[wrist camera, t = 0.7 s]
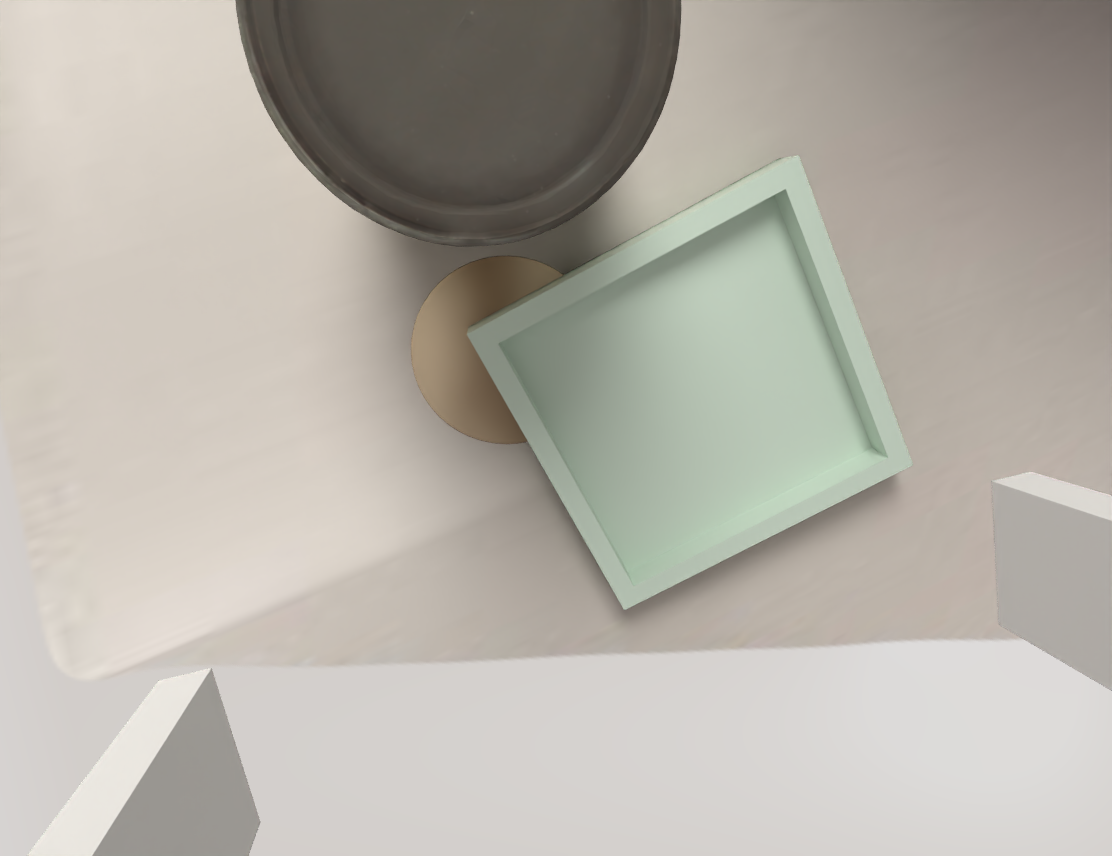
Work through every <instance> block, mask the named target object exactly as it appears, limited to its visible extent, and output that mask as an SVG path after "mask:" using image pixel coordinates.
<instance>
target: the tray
mask: <svg viewBox="0 0 1112 856" xmlns="http://www.w3.org/2000/svg"><path fill="white" fill-rule="evenodd" d="M467 336H468V338H469V339H470V341H471V343H472V345H473V346H474V348H475V350H476V352H477V353H478V355H479V357H480V359H481V360H482V362H483V364H484V366H485V367H486V369H487V371H488V373H489V374H490V376H491V378H492V380H493V381H494V383H495V385H496V387H497V388H498V390H499V392H500V394H501V395H502V397H503V399H504V401H505V402H506V404H507V406H508V408H509V409H510V411H511V413H512V415H513V416H514V418H515V420H516V422H517V423H518V425H519V427H520V429H521V430H522V432H523V434H524V436H525V437H526V439H527V441H528V443H529V444H530V446H531V448H532V450H533V451H534V453H535V455H536V457H537V458H538V460H539V462H540V464H541V465H542V467H543V469H544V471H545V472H546V474H547V476H548V478H549V479H550V481H551V483H552V485H553V486H554V488H555V490H556V492H557V493H558V495H559V497H560V499H561V500H562V502H563V504H564V506H565V507H566V509H567V511H568V513H569V514H570V516H571V518H572V520H573V521H574V523H575V525H576V527H577V528H578V530H579V532H580V534H581V535H582V537H583V539H584V541H585V542H586V544H587V546H588V548H589V549H590V551H591V553H592V555H593V556H594V558H595V560H596V562H597V563H598V565H599V567H600V569H601V570H602V572H603V574H604V576H605V577H606V579H607V581H608V583H609V584H610V586H611V588H612V590H613V591H614V593H615V595H616V597H617V598H618V600H619V602H620V604H621V605H622V607H623V609H624V610H626V609H628V608H630V607H632V606H634V605H636V604H638V603H640V602H642V601H644V600H646V599H648V598H650V597H652V596H654V595H656V594H658V593H660V592H662V591H664V590H666V589H668V588H670V587H672V586H674V585H676V584H678V583H680V582H682V581H684V580H686V579H688V578H690V577H692V576H694V575H696V574H698V573H700V572H702V571H704V570H706V569H708V568H710V567H712V566H714V565H716V564H718V563H719V562H721V561H723V560H725V559H727V558H729V557H731V556H733V555H735V554H737V553H739V552H741V551H743V550H745V549H747V548H749V547H751V546H753V545H755V544H757V543H759V542H761V541H763V540H765V539H767V538H769V537H771V536H773V535H775V534H777V533H779V532H781V531H783V530H785V529H787V528H789V527H791V526H793V525H795V524H797V523H799V522H801V521H803V520H805V519H807V518H809V517H811V516H813V515H815V514H817V513H819V512H821V511H823V510H825V509H827V508H829V507H831V506H833V505H835V504H837V503H839V502H841V501H843V500H845V499H847V498H849V497H851V496H853V495H855V494H857V493H859V492H861V491H863V490H865V489H867V488H869V487H871V486H873V485H875V484H877V483H879V482H881V481H883V480H885V479H887V478H889V477H891V476H893V475H895V474H897V473H899V472H901V471H903V470H904V469H906V468H908V467H910V466H912V465H913V463H912V460H911V457H910V455H909V452H908V449H907V447H906V444H905V441H904V439H903V436H902V433H901V430H900V428H899V425H898V422H897V420H896V417H895V414H894V412H893V409H892V406H891V403H890V401H889V398H888V395H887V393H886V390H885V387H884V384H883V382H882V379H881V376H880V374H879V371H878V368H877V366H876V363H875V360H874V357H873V355H872V352H871V349H870V347H869V344H868V341H867V339H866V336H865V333H864V330H863V328H862V325H861V322H860V320H859V317H858V314H857V311H856V309H855V306H854V303H853V301H852V298H851V295H850V293H849V290H848V287H847V284H846V282H845V279H844V276H843V274H842V271H841V268H840V266H839V263H838V260H837V257H836V255H835V252H834V249H833V247H832V244H831V241H830V238H829V236H828V233H827V230H826V228H825V225H824V222H823V220H822V217H821V214H820V211H819V209H818V206H817V203H816V201H815V198H814V195H813V193H812V190H811V187H810V184H809V182H808V179H807V176H806V174H805V171H804V168H803V165H802V163H801V160H800V157H799V155H796V156H791V157H785V158H780V159H777V160H776V161H774V162H772V163H770V164H768V165H766V166H764V167H763V168H761V169H759V170H757V171H755V172H753V173H752V174H750V175H748V176H746V177H744V178H742V179H740V180H739V181H737V182H735V183H733V184H731V185H729V186H728V187H726V188H724V189H722V190H720V191H718V192H716V193H715V194H713V195H711V196H709V197H707V198H705V199H704V200H702V201H700V202H698V203H696V204H694V205H692V206H691V207H689V208H687V209H685V210H683V211H681V212H680V213H678V214H676V215H674V216H672V217H670V218H668V219H667V220H665V221H663V222H661V223H659V224H657V225H656V226H654V227H652V228H650V229H648V230H646V231H644V232H643V233H641V234H639V235H637V236H635V237H633V238H632V239H630V240H628V241H626V242H624V243H622V244H620V245H619V246H617V247H615V248H613V249H611V250H609V251H608V252H606V253H604V254H602V255H600V256H598V257H596V258H595V259H593V260H591V261H589V262H587V263H585V264H583V265H582V266H580V267H578V268H576V269H574V270H572V271H571V272H569V273H567V274H565V275H563V276H561V277H559V278H558V279H556V280H554V281H552V282H550V283H548V284H547V285H545V286H543V287H541V288H539V289H537V290H535V291H534V292H532V293H530V294H528V295H526V296H524V297H523V298H521V299H519V300H517V301H515V302H513V303H511V304H510V305H508V306H506V307H504V308H502V309H500V310H499V311H497V312H495V313H493V314H491V315H489V316H487V317H486V318H484V319H482V320H480V321H478V322H476V323H475V324H473V325H471V326H469V327H468V331H467Z"/></svg>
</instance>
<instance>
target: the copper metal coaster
mask: <svg viewBox="0 0 1112 856" xmlns="http://www.w3.org/2000/svg"><path fill="white" fill-rule="evenodd" d="M561 276H563V275H562V274H561V273H560V272H558V271H557V270H555V269H553V268H551V267H549V266H548V265H545V264H543V263H540V262H538V261H535V260H531V259H527V258H523V257H514V256H496V257H490V258H484V259H481V260H477V261H474V262H471V263H469V264H467V265H465V266H462V267H460V268H459V269H457V270H455V271H454V272H452V273H451V274H449V275H448V276H447V277H446V278H444V279H443V280H442V281H441V282H440V283H439V284H438V285H437V286H436V287H435V288H434V289H433V290H432V292H431V293H430V294H429V296H428V297H427V299H426V300H425V302H424V303H423V305H422V307H421V309H420V311H419V313H418V316H417V319H416V322H415V325H414V328H413V334H412V340H411V358H412V366H413V370H414V375H415V378H416V381H417V383H418V386H419V388H420V390H421V392H422V394H423V396H424V398H425V399H426V401H427V402H428V404H429V405H430V406H431V408H432V409H433V410H434V411H435V412H436V413H437V414H438V416H439V417H440V418H442V419H443V420H444V421H445V422H446V423H447V424H449V425H450V426H452V427H453V428H455V429H456V430H458V431H459V432H461V433H463V434H466V435H468V436H470V437H472V438H475V439H478V440H481V441H486V442H491V443H501V444H512V443H522V442H527V439H526V437H525V436H524V434H523V432H522V430H521V429H520V427H519V425H518V423H517V422H516V420H515V418H514V416H513V415H512V413H511V411H510V409H509V408H508V406H507V404H506V402H505V401H504V399H503V397H502V395H501V394H500V392H499V390H498V388H497V387H496V385H495V383H494V381H493V380H492V378H491V376H490V374H489V373H488V371H487V369H486V367H485V366H484V364H483V362H482V360H481V359H480V357H479V355H478V353H477V352H476V350H475V348H474V346H473V345H472V343H471V341H470V339H469V338H468V336H467V331H468V327H469V326H471V325H473V324H475V323H476V322H478V321H480V320H482V319H484V318H486V317H487V316H489V315H491V314H493V313H495V312H497V311H499V310H500V309H502V308H504V307H506V306H508V305H510V304H511V303H513V302H515V301H517V300H519V299H521V298H523V297H524V296H526V295H528V294H530V293H532V292H534V291H535V290H537V289H539V288H541V287H543V286H545V285H547V284H548V283H550V282H552V281H554V280H556V279H558V278H559V277H561Z"/></svg>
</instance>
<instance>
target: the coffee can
mask: <svg viewBox="0 0 1112 856" xmlns="http://www.w3.org/2000/svg"><path fill="white" fill-rule="evenodd" d="M236 10H237V17H238V24H239V29H240V35H241V40H242V44H243V48H244V51H245V55H246V58H247V62H248V66H249V69H250V72H251V74H252V77H253V79H254V82H255V85H256V87H257V90H258V92H259V95H260V97H261V99H262V102H263V104H264V106H265V108H266V110H267V112H268V114H269V115H270V117H271V119H272V121H273V123H274V124H275V126H276V128H277V129H278V131H279V132H280V134H281V135H282V137H283V138H284V140H285V141H286V142H287V144H288V145H289V147H290V148H291V149H292V151H293V152H294V154H295V155H296V156H297V158H298V159H299V160H300V161H301V162H302V163H303V165H304V166H305V167H306V168H307V169H308V170H309V171H310V172H311V173H312V174H313V175H314V176H315V177H316V178H317V179H318V180H319V181H320V182H321V183H322V184H323V185H324V186H325V187H326V188H327V189H328V190H329V191H331V192H332V193H333V194H334V195H335V196H336V197H338V198H339V199H340V200H342V201H343V202H344V203H346V204H347V205H348V206H349V207H351V208H352V209H354V210H356V211H357V212H359V213H361V214H362V215H364V216H366V217H368V218H369V219H371V220H373V221H375V222H376V223H378V224H380V225H382V226H384V227H387V228H389V229H392V230H394V231H397V232H399V233H402V234H404V235H407V236H410V237H413V238H416V239H420V240H423V241H428V242H432V243H437V244H443V245H451V246H488V245H498V244H505V243H510V242H516V241H520V240H523V239H527V238H530V237H533V236H535V235H538V234H540V233H543V232H545V231H548V230H551V229H553V228H555V227H557V226H559V225H561V224H563V223H565V222H566V221H568V220H570V219H571V218H573V217H575V216H576V215H578V214H579V213H581V212H582V211H584V210H585V209H586V208H588V207H589V206H590V205H592V204H593V203H594V202H596V201H597V200H598V199H599V198H600V197H601V196H602V195H603V194H604V193H606V192H607V191H608V190H609V189H610V188H611V187H612V186H613V185H614V184H615V183H616V182H617V181H618V180H619V179H620V178H621V176H622V175H623V174H624V173H625V172H626V170H627V169H628V168H629V166H630V165H631V164H632V163H633V161H634V160H635V158H636V157H637V156H638V154H639V153H640V152H641V150H642V149H643V147H644V145H645V144H646V142H647V140H648V138H649V137H650V135H651V133H652V131H653V129H654V127H655V125H656V123H657V121H658V119H659V117H660V115H661V112H662V110H663V107H664V104H665V101H666V99H667V96H668V93H669V90H670V86H671V82H672V78H673V74H674V69H675V64H676V60H677V53H678V46H679V39H680V24H681V0H236Z"/></svg>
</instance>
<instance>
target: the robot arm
mask: <svg viewBox="0 0 1112 856" xmlns="http://www.w3.org/2000/svg"><path fill="white" fill-rule="evenodd" d="M991 482H992V502H993V522H994V542H995V562H996V582H997V602H998V622H999V625H1000V626H1002V627H1004V628H1005V629H1007V630H1009V631H1011V632H1012V633H1014V634H1016V635H1017V636H1019V637H1021V638H1022V639H1024V640H1026V641H1028V642H1029V643H1031V644H1033V645H1034V646H1036V647H1038V648H1040V649H1042V650H1043V651H1045V652H1047V653H1048V654H1050V655H1051V656H1053V657H1055V658H1057V659H1059V660H1060V661H1062V662H1063V663H1065V664H1067V665H1069V666H1070V667H1072V668H1074V669H1075V670H1077V671H1079V672H1081V673H1082V674H1084V675H1086V676H1087V677H1089V678H1091V679H1093V680H1094V681H1096V682H1098V683H1099V684H1101V685H1103V686H1105V687H1106V688H1108V689H1110V690H1111V691H1112V495H1109V494H1106V493H1102V492H1099V491H1095V490H1092V489H1088V488H1085V487H1082V486H1078V485H1075V484H1071V483H1068V482H1065V481H1061V480H1058V479H1054V478H1051V477H1047V476H1044V475H1041V474H1037V473H1034V472H1027V473H1023V474H1019V475H1015V476H1010V477H1006V478H1002V479H998V480H994V481H991ZM259 825H260V820H259V816H258V813H257V810H256V807H255V804H254V801H253V797H252V794H251V791H250V788H249V785H248V782H247V778H246V775H245V772H244V769H243V766H242V763H241V760H240V756H239V753H238V750H237V747H236V744H235V741H234V738H233V735H232V731H231V728H230V725H229V722H228V719H227V716H226V713H225V709H224V706H223V703H222V700H221V697H220V694H219V690H218V687H217V684H216V681H215V678H214V675H213V672H212V668H210V669H206V670H201V671H197V672H193V673H189V674H185V675H180V676H177V677H172V678H168V679H164V680H160V681H158V682H157V684H156V685H155V686H154V688H153V689H152V690H151V692H150V693H149V694H148V696H147V697H146V698H145V700H144V701H143V702H142V703H141V705H140V706H139V707H138V709H137V710H136V711H135V713H134V714H133V716H132V717H131V718H130V720H129V721H128V723H126V725H125V726H124V727H123V729H122V730H121V731H120V733H119V734H118V735H117V737H116V738H115V739H114V741H113V742H112V743H111V745H110V746H109V747H108V749H107V750H106V751H105V753H104V754H103V755H102V757H101V758H100V759H99V761H98V762H97V763H96V765H95V766H94V767H93V768H92V770H91V771H90V773H89V774H88V775H87V776H86V778H85V779H84V781H83V782H82V783H81V784H80V786H79V787H78V788H77V790H76V791H75V793H74V794H73V795H72V796H71V798H70V799H69V801H68V802H67V803H66V804H65V806H64V807H63V808H62V810H61V811H60V812H59V814H58V815H57V816H56V818H55V819H54V820H53V822H52V823H51V824H50V826H49V827H48V828H47V830H46V831H45V832H44V834H43V835H42V836H41V838H40V839H39V840H38V841H37V843H36V844H35V846H34V847H33V848H32V850H31V851H30V852H29V854H28V855H27V856H249V853H250V850H251V847H252V844H253V841H254V839H255V836H256V833H257V830H258V827H259Z"/></svg>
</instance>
